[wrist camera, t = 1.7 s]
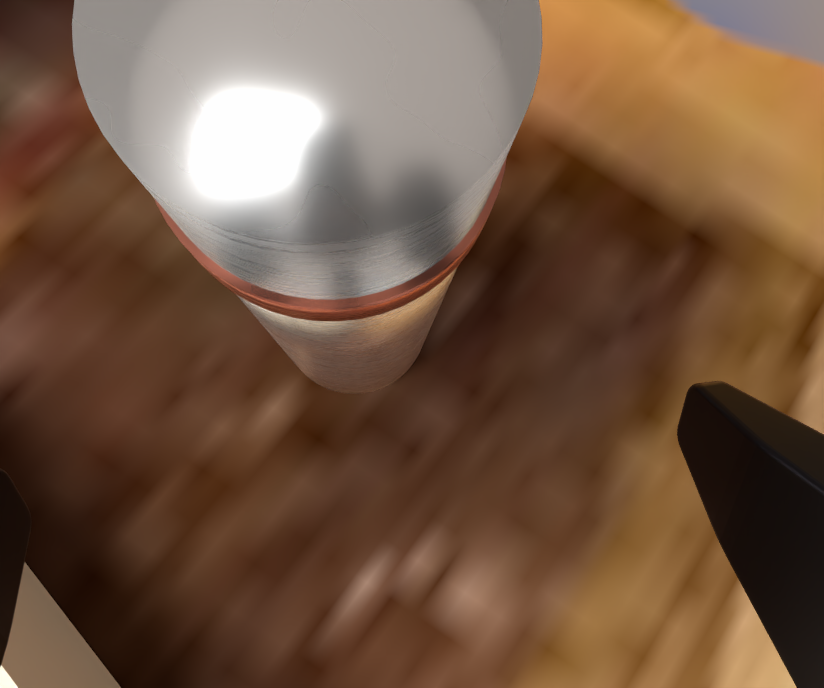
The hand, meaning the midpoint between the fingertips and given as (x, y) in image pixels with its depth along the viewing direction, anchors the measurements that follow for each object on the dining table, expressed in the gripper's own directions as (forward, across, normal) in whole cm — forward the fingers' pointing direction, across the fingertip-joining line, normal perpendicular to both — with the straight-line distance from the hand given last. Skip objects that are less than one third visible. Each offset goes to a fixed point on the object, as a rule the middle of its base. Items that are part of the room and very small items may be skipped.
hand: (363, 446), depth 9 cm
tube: (+10, 0, +5) cm, 11 cm away
